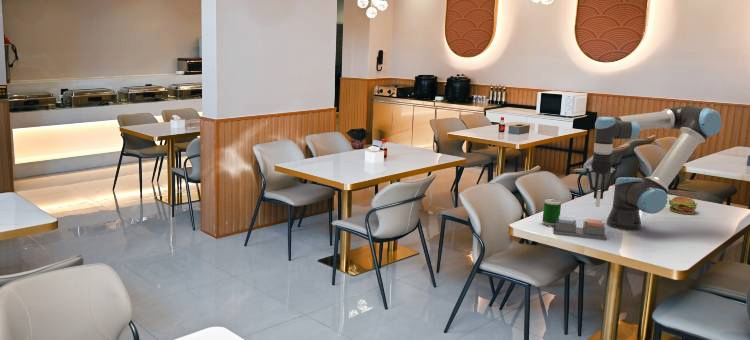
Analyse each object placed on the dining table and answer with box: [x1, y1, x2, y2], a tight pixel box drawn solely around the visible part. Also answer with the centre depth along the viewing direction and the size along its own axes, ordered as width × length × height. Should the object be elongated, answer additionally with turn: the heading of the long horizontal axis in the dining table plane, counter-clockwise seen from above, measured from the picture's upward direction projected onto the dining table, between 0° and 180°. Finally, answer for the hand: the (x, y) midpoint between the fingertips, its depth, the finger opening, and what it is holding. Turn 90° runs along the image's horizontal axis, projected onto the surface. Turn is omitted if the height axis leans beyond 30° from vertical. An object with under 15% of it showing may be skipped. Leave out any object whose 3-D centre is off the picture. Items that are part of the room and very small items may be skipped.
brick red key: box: [585, 218, 603, 227], centre depth 293 cm, size 6×6×3 cm
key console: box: [552, 218, 607, 241], centre depth 295 cm, size 22×11×5 cm, turn 75°
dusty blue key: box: [558, 215, 575, 224], centre depth 296 cm, size 6×6×3 cm
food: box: [668, 195, 698, 215], centre depth 346 cm, size 14×14×8 cm
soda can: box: [541, 197, 562, 227], centre depth 307 cm, size 8×8×12 cm
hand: (597, 205), depth 291 cm, fingers closed
